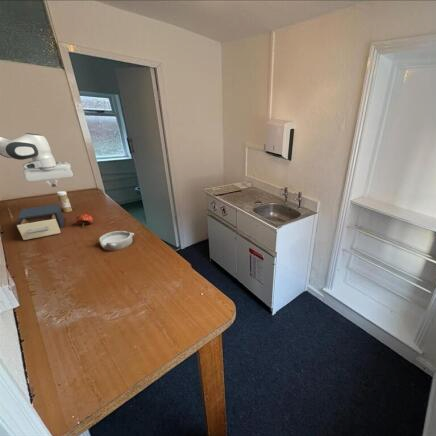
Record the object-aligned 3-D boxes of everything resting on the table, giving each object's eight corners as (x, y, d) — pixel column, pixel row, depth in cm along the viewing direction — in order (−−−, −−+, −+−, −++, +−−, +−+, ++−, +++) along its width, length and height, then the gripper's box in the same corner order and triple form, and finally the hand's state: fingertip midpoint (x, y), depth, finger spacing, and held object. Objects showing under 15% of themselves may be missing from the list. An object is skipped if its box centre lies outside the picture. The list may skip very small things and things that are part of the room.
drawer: (60, 236, 121) (54, 222, 118) (22, 243, 113) (15, 229, 109) (61, 223, 134) (56, 211, 131) (27, 229, 126) (21, 216, 123)
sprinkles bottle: (61, 212, 151) (54, 192, 145) (66, 210, 155) (59, 190, 149) (69, 212, 151) (62, 192, 146) (74, 210, 156) (67, 190, 150)
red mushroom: (93, 229, 135) (98, 215, 140) (82, 224, 129) (89, 208, 133) (80, 230, 135) (86, 216, 140) (69, 225, 129) (76, 209, 133)
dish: (117, 253, 110) (114, 244, 108) (93, 249, 112) (90, 240, 110) (141, 239, 123) (139, 231, 121) (119, 236, 125) (116, 228, 123)
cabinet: (63, 227, 131) (57, 211, 128) (25, 234, 122) (17, 217, 119) (64, 218, 142) (58, 203, 139) (29, 224, 133) (22, 208, 130)
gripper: (68, 160, 142) (76, 182, 147) (19, 164, 128) (29, 188, 134) (69, 162, 138) (77, 184, 144) (19, 166, 124) (29, 190, 130)
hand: (54, 186), depth 138 cm, fingers closed
